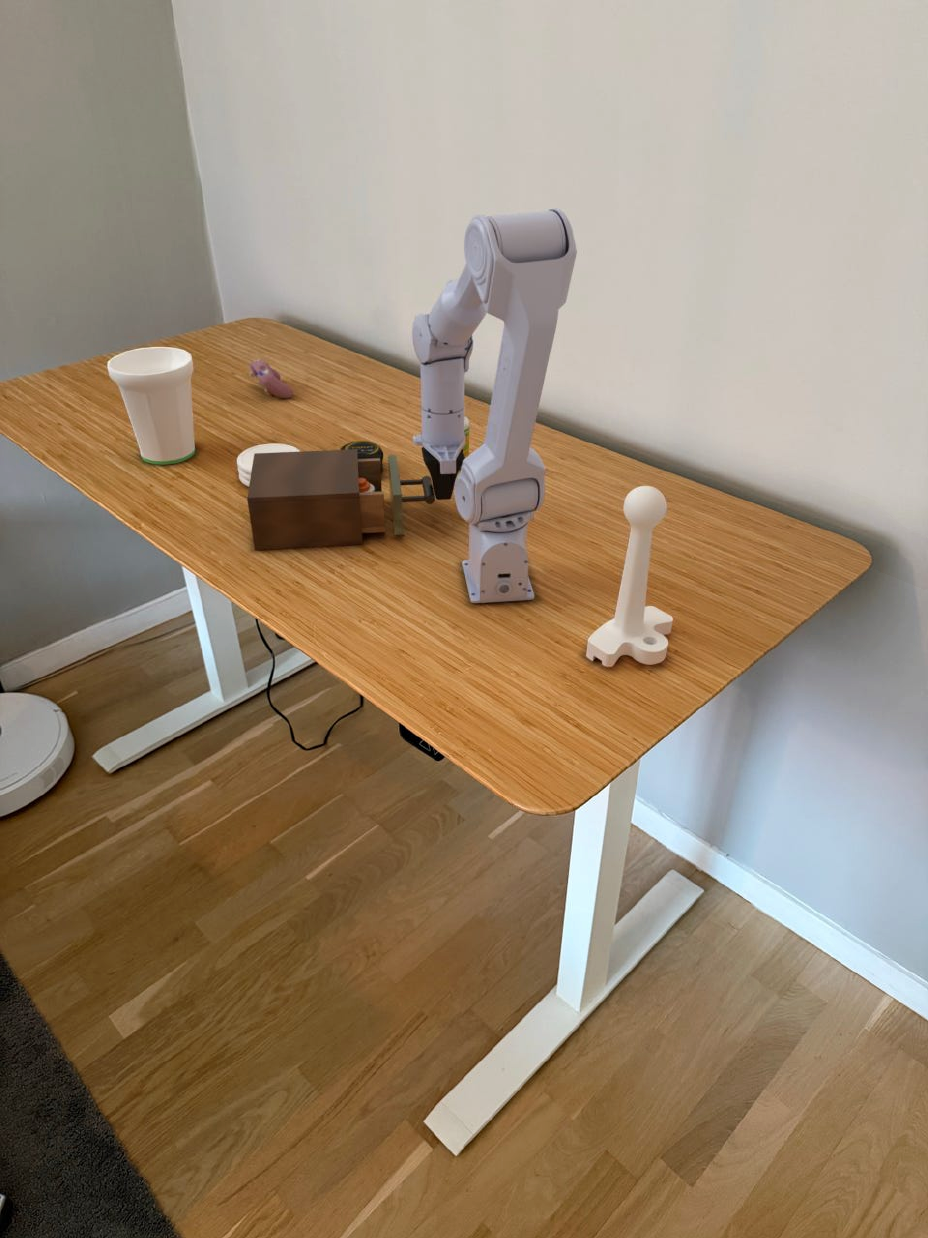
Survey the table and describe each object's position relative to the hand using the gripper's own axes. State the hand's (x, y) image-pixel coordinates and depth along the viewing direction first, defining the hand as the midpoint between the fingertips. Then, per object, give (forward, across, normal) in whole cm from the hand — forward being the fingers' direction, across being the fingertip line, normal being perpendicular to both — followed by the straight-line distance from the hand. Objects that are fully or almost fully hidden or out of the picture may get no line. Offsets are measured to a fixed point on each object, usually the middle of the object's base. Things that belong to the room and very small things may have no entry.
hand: (443, 497), depth 126 cm
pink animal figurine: (+3, -50, -27) cm, 57 cm away
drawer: (+2, 0, -10) cm, 11 cm away
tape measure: (+3, -15, -11) cm, 19 cm away
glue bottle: (+1, 0, -11) cm, 11 cm away
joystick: (+3, +33, +19) cm, 38 cm away
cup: (+3, -25, -42) cm, 49 cm away
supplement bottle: (+3, -17, +3) cm, 18 cm away
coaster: (+3, -15, -25) cm, 29 cm away
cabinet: (+3, 0, -19) cm, 19 cm away
